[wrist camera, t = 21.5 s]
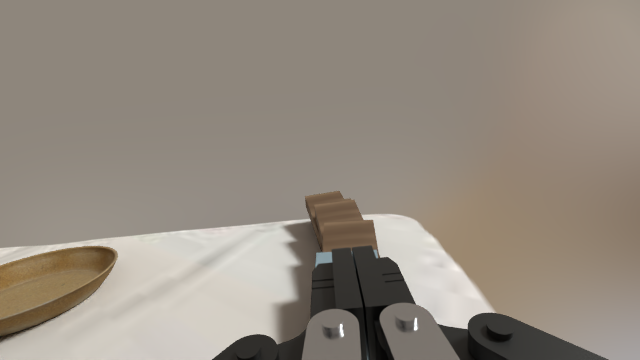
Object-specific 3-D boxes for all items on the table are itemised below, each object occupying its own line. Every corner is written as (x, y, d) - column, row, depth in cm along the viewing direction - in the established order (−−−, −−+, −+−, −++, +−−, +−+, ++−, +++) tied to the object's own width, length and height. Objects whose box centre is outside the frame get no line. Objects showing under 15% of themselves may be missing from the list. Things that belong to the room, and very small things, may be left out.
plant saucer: (36, 268, 38) (29, 248, 38) (152, 262, 37) (147, 241, 36) (-149, 365, 24) (-163, 335, 23) (30, 361, 23) (19, 329, 22)
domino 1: (363, 231, 35) (339, 190, 44) (320, 239, 34) (305, 196, 43) (363, 243, 36) (339, 200, 45) (321, 251, 35) (306, 206, 44)
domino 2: (380, 257, 29) (354, 199, 38) (328, 264, 29) (314, 204, 37) (379, 270, 30) (354, 210, 39) (329, 277, 29) (315, 215, 38)
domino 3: (386, 304, 22) (372, 219, 31) (319, 306, 23) (324, 222, 32) (387, 319, 23) (373, 232, 32) (321, 321, 24) (325, 235, 32)
